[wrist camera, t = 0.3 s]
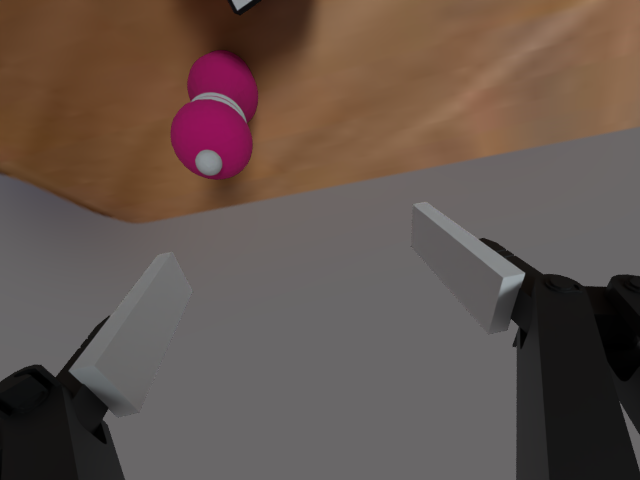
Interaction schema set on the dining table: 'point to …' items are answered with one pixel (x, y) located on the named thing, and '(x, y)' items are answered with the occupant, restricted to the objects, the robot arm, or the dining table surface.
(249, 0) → the puzzle cube
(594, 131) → the dining table surface
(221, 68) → the pepper mill
